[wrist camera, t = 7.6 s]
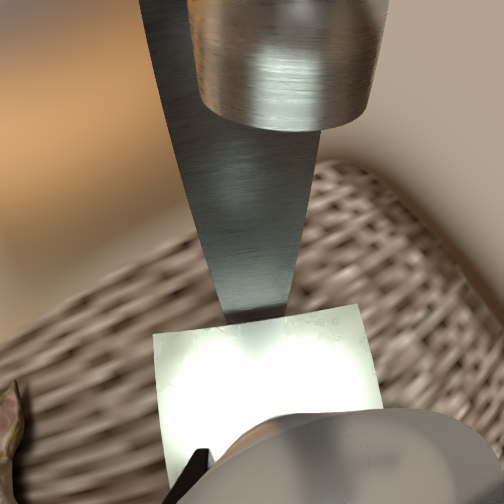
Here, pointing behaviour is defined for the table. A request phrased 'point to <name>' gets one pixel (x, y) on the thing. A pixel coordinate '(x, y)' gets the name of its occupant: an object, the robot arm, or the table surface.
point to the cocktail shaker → (354, 461)
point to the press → (257, 206)
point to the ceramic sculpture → (9, 439)
